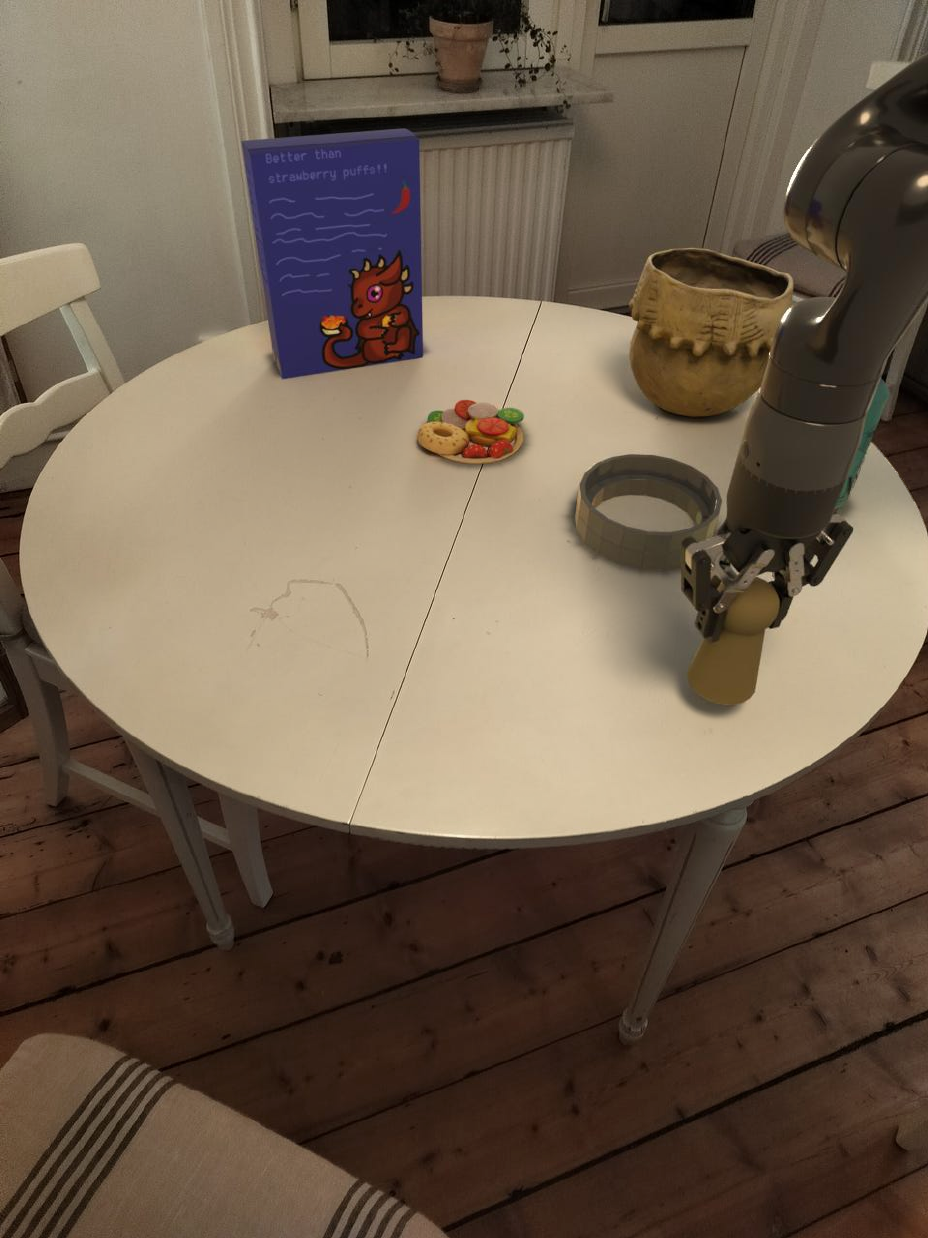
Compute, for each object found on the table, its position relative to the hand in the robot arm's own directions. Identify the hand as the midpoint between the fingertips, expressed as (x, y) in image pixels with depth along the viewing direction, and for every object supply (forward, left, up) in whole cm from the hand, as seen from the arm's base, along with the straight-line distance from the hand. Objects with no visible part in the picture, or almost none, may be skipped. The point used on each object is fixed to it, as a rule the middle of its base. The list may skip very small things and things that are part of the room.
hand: (738, 627), depth 70 cm
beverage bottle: (+4, -38, -11) cm, 39 cm away
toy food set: (+45, -23, -11) cm, 52 cm away
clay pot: (+27, -50, -11) cm, 58 cm away
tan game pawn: (0, 0, -7) cm, 7 cm away
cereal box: (+74, -30, -11) cm, 81 cm away
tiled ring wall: (+18, -20, -10) cm, 29 cm away
